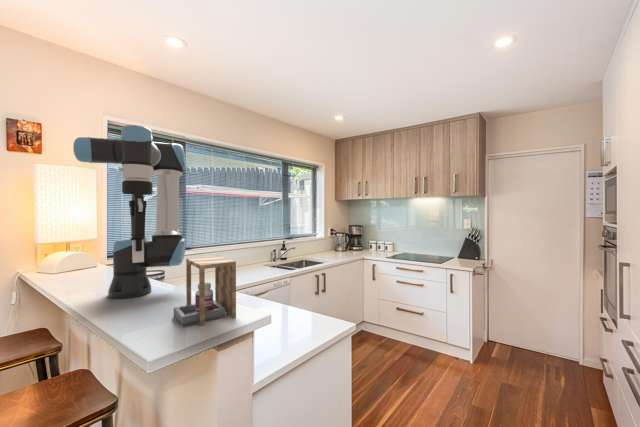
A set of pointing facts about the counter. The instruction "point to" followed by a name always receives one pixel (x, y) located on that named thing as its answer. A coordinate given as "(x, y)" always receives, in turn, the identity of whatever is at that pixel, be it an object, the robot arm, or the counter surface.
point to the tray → (197, 314)
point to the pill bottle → (207, 298)
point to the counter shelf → (223, 283)
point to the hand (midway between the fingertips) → (138, 261)
